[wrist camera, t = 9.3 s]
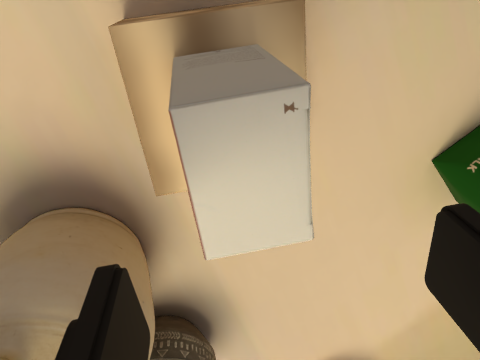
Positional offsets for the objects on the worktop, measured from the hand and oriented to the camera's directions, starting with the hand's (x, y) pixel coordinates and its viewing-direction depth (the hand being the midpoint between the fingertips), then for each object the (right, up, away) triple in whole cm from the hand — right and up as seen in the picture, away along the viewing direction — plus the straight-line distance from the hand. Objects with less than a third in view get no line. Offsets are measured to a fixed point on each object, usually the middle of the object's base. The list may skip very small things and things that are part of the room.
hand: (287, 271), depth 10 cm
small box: (-2, +8, +14) cm, 16 cm away
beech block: (-3, +11, +19) cm, 22 cm away
